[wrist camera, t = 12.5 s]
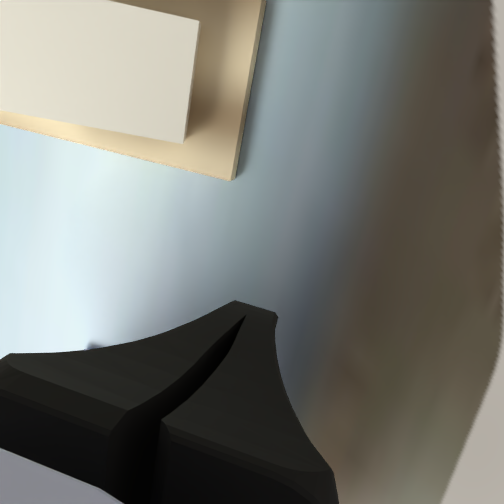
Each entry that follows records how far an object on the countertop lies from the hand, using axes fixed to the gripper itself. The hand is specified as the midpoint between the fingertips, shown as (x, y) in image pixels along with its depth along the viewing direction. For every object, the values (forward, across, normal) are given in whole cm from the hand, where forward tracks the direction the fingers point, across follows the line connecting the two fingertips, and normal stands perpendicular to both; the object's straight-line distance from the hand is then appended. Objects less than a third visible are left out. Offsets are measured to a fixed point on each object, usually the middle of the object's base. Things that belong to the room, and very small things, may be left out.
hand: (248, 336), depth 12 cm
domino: (+9, +6, -6) cm, 12 cm away
